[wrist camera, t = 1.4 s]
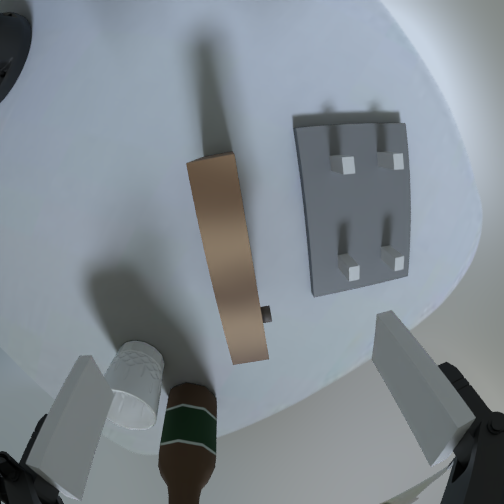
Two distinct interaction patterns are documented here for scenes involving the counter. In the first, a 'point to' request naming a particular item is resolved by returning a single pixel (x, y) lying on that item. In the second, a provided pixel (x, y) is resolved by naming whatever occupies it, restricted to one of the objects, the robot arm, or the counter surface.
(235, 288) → the brown wooden board
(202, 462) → the beer bottle
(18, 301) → the counter surface
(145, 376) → the white cup
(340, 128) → the board
